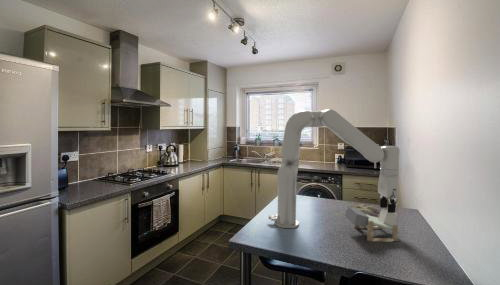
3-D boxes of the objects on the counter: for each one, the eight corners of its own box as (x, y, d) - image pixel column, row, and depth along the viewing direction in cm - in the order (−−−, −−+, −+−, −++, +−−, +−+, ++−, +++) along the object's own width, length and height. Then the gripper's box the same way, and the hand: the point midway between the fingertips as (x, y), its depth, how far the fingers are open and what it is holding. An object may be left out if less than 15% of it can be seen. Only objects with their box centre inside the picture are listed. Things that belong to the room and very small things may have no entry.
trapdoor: (354, 224, 113) (357, 214, 113) (344, 215, 125) (347, 205, 125) (397, 237, 113) (400, 226, 113) (383, 226, 125) (386, 217, 125)
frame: (368, 241, 112) (368, 221, 112) (354, 227, 127) (355, 210, 127) (397, 241, 112) (398, 221, 111) (380, 227, 127) (381, 210, 127)
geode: (349, 221, 149) (351, 226, 135) (343, 206, 151) (344, 209, 137) (378, 214, 145) (384, 218, 131) (372, 198, 147) (377, 200, 133)
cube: (383, 223, 117) (387, 211, 116) (378, 219, 122) (382, 207, 121) (393, 226, 117) (398, 214, 116) (387, 222, 122) (392, 210, 121)
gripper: (372, 169, 126) (370, 204, 127) (391, 175, 109) (389, 216, 110) (387, 169, 126) (385, 204, 127) (408, 176, 109) (406, 216, 110)
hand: (387, 209), depth 119 cm, fingers open, 6 cm apart
